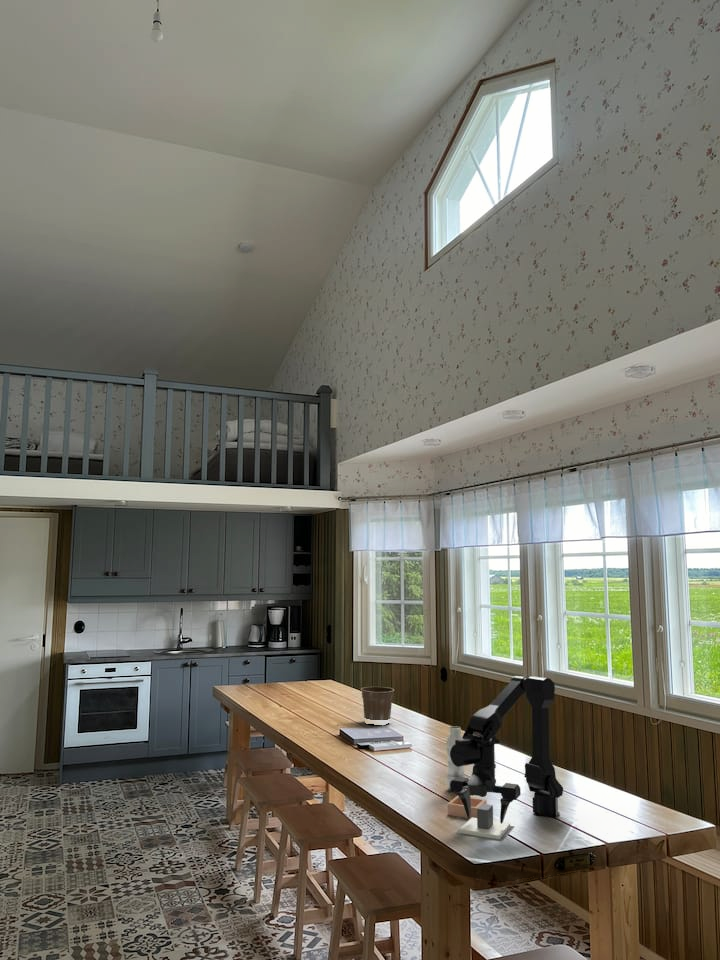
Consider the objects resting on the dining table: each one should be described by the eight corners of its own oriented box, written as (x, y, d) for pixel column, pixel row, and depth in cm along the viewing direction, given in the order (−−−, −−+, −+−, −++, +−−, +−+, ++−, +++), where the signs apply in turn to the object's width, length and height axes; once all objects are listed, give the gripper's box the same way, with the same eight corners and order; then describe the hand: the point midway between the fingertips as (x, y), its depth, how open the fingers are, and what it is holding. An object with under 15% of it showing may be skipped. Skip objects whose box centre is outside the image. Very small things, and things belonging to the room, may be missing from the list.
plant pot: (401, 725, 343) (400, 690, 345) (371, 728, 335) (371, 692, 337) (382, 719, 357) (382, 685, 359) (354, 722, 349) (354, 687, 351)
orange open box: (486, 813, 215) (486, 799, 216) (477, 822, 207) (477, 808, 208) (457, 809, 219) (457, 795, 220) (447, 818, 211) (447, 803, 212)
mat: (514, 828, 202) (514, 826, 202) (502, 843, 190) (502, 841, 190) (469, 821, 207) (469, 819, 207) (455, 835, 196) (455, 833, 196)
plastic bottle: (463, 787, 241) (463, 725, 244) (467, 793, 234) (466, 729, 237) (444, 787, 241) (444, 725, 244) (447, 793, 234) (447, 729, 237)
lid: (510, 826, 201) (509, 804, 202) (499, 839, 191) (499, 815, 192) (472, 820, 206) (471, 798, 207) (459, 832, 196) (459, 809, 197)
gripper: (442, 764, 198) (443, 824, 196) (509, 772, 190) (511, 835, 188) (455, 755, 208) (456, 812, 206) (520, 762, 200) (521, 822, 198)
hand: (485, 820), depth 199 cm, fingers open, 9 cm apart
